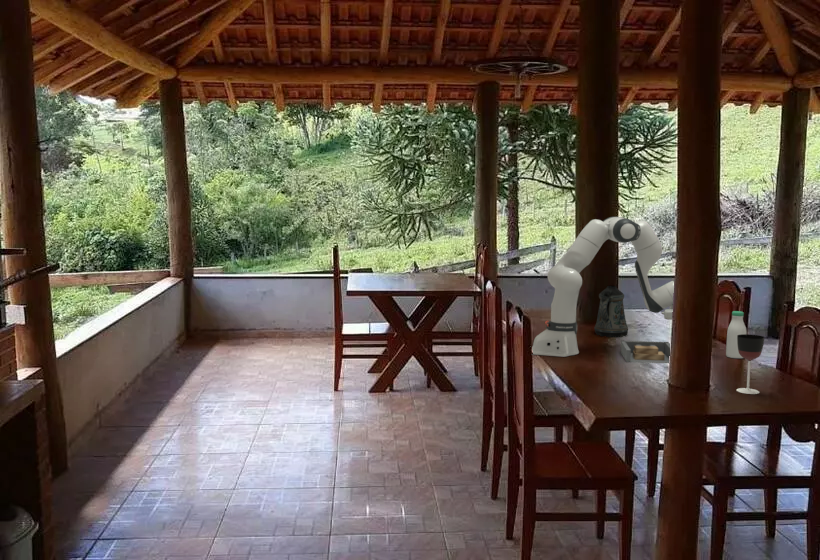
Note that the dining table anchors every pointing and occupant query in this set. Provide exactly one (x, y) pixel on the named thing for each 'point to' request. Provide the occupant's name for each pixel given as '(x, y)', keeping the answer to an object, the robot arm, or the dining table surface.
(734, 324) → the milk bottle
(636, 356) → the lower offcut
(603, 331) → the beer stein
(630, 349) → the grey open tray
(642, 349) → the upper offcut
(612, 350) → the dining table surface
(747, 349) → the wineglass
